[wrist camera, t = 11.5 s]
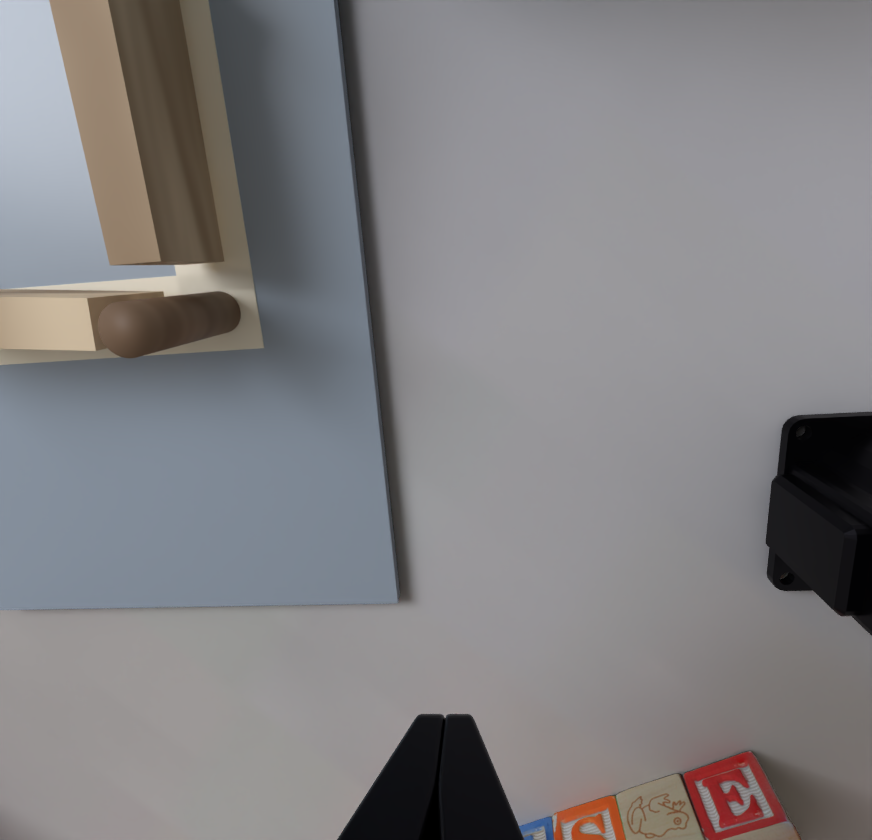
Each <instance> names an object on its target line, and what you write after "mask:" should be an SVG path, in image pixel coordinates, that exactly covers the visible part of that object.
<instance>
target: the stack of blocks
mask: <svg viewBox="0 0 872 840" xmlns="http://www.w3.org/2000/svg"><path fill="white" fill-rule="evenodd" d="M519 828H520V830H521V833H522V835H523V838H524V840H801V838H800V836H799V834H798V832H797V830H796V828H795V826H794V825H793V823H791V821H790V819H789V818H788V816H787V814H786V812H785V810H784V808H783V806H782V804H781V802H780V800H779V798H778V796H777V794H776V792H775V791H774V789H773V787H772V785H771V783H770V781H769V779H768V778H767V776H766V774H765V772H764V770H763V768H762V767H761V765H760V763H759V761H758V760H757V758H756V757H755V755H754V754H753V753H752V752H751V751H748V752H744V753H741V754H738V755H735V756H732V757H730V758H727V759H724V760H721V761H718V762H715V763H713V764H710V765H707V766H704V767H701V768H698V769H695V770H692V771H689V772H686V773H685V774H684V775H682V776H681V775H679V774H674V775H670V776H667V777H664V778H661V779H658V780H655V781H652V782H649V783H645V784H642V785H639V786H636V787H633V788H631V789H628V790H625V791H623V792H620V793H618V794H617V795H616V796H607V797H604V798H600V799H597V800H594V801H591V802H588V803H585V804H582V805H579V806H576V807H572V808H569V809H567V810H564V811H560V812H557V813H555V814H554V815H553V816H552V817H546V818H543V819H540V820H537V821H534V822H532V823H528V824H525V825H522V826H519Z"/></svg>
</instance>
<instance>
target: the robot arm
mask: <svg viewBox="0 0 872 840" xmlns="http://www.w3.org/2000/svg"><path fill="white" fill-rule="evenodd" d="M801 426H805V432H804V433H803V434H802V435H801V436H796V432H797V430H798V429H799V428H800V427H801ZM766 544H767V545H768V546H769V547H770V548H769V558H768V567H767V577H768V579H769V580H770V582H771V583H772V584H773V585H774V586H775V587H776V588H778V589H779V590H784V591H804V590H813V591H814V592H815V593H816V594H817V595H818V596H819V597H820V598H821V599H823V600H824V601H825V602H826V603H827V604H828V605H829V606H830V607H831V608H832V609H833V610H834V611H835V612H836V613H837V614H839V615H840V616H852V617H853V618H854V619H855V620H856V621H857V622H858V623H859V624H860V625H861V626H862V627H863V628H864V629H865V630H866V631H867V632H868V633H870V634H871V635H872V412H857V413H836V414H815V415H798V416H793V417H791V418H790V419H788V420H787V421H786V422H785V424H784V425H783V428H782V434H781V443H780V453H779V462H778V472H777V476H776V477H775V478H774V480H773V481H772V485H771V495H770V505H769V514H768V524H767V534H766ZM787 572H789V573H788V575H787V576H786V577H785V578H782V579H780V577H781V575H782V574H784V573H787ZM337 840H524V838H523V835H522V833H521V830H520V828H519V826H518V823H517V821H516V819H515V816H514V814H513V811H512V809H511V807H510V804H509V802H508V799H507V797H506V795H505V792H504V790H503V788H502V785H501V783H500V780H499V778H498V776H497V773H496V771H495V768H494V766H493V764H492V761H491V759H490V756H489V754H488V752H487V749H486V747H485V745H484V742H483V740H482V737H481V735H480V733H479V730H478V728H477V725H476V723H475V721H474V719H473V717H472V716H471V715H470V714H448V715H447V716H446V718H444V716H443V715H442V714H420V715H418V716H417V717H416V719H415V720H414V722H413V723H412V725H411V726H410V728H409V729H408V731H407V732H406V734H405V736H404V737H403V739H402V740H401V742H400V743H399V745H398V746H397V748H396V749H395V751H394V753H393V754H392V756H391V757H390V759H389V760H388V762H387V763H386V765H385V766H384V768H383V770H382V771H381V773H380V774H379V776H378V777H377V779H376V780H375V782H374V783H373V785H372V787H371V788H370V790H369V791H368V793H367V794H366V796H365V797H364V799H363V800H362V802H361V804H360V805H359V807H358V808H357V810H356V811H355V813H354V814H353V816H352V817H351V819H350V821H349V822H348V824H347V825H346V827H345V828H344V830H343V831H342V833H341V835H340V836H339V838H338V839H337Z"/></svg>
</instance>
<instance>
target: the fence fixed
mask: <svg viewBox="0 0 872 840" xmlns="http://www.w3.org/2000/svg"><path fill="white" fill-rule="evenodd" d="M49 2H50V6H51V11H52V15H53V20H54V24H55V28H56V33H57V37H58V41H59V46H60V50H61V54H62V59H63V63H64V68H65V72H66V76H67V81H68V85H69V89H70V94H71V98H72V103H73V107H74V111H75V116H76V120H77V124H78V129H79V133H80V138H81V142H82V146H83V151H84V155H85V159H86V164H87V168H88V172H89V177H90V181H91V186H92V190H93V194H94V199H95V203H96V207H97V212H98V216H99V221H100V225H101V229H102V234H103V238H104V242H105V247H106V251H107V255H108V260H109V264H110V265H189V264H202V263H214V262H225V261H224V256H223V250H222V244H221V238H220V233H219V227H218V221H217V215H216V209H215V204H214V198H213V192H212V186H211V181H210V175H209V169H208V163H207V157H206V152H205V146H204V140H203V134H202V128H201V123H200V117H199V111H198V105H197V100H196V94H195V88H194V82H193V76H192V71H191V65H190V59H189V53H188V48H187V42H186V36H185V30H184V24H183V19H182V13H181V7H180V1H179V0H49ZM240 318H241V312H240V307H239V305H238V303H237V301H236V300H235V299H234V298H233V297H232V296H231V295H229V294H228V293H225V292H222V291H214V292H205V293H195V294H186V295H176V296H167V297H157V298H148V299H139V300H129V301H120V302H114V303H111V304H109V305H107V306H106V307H105V308H104V309H103V310H102V312H101V314H100V316H99V319H98V331H99V335H100V337H101V340H102V341H103V343H104V345H105V346H106V347H107V348H108V349H109V350H110V351H111V352H113V353H114V354H116V355H118V356H120V357H123V358H136V357H140V356H144V355H147V354H151V353H155V352H158V351H162V350H166V349H169V348H173V347H177V346H180V345H184V344H188V343H191V342H195V341H199V340H202V339H206V338H209V337H213V336H217V335H220V334H224V333H228V332H230V331H232V330H234V329H235V328H236V327H237V326H238V324H239V322H240Z"/></svg>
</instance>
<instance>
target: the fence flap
mask: <svg viewBox="0 0 872 840" xmlns="http://www.w3.org/2000/svg"><path fill="white" fill-rule="evenodd" d="M157 297H164V292H163V291H104V290H32V289H0V349H33V350H78V351H98V350H102V349H106V348H107V347H106V346H105V345H104V343H103V341H102V340H101V337H100V335H99V331H98V319H99V316H100V314H101V312H102V310H103V309H104V308H105V307H106V306H107V305H109V304H111V303H114V302H120V301H129V300H139V299H148V298H157Z"/></svg>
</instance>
